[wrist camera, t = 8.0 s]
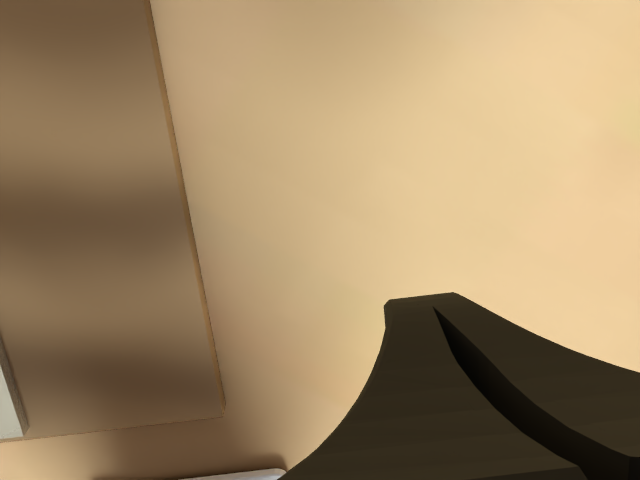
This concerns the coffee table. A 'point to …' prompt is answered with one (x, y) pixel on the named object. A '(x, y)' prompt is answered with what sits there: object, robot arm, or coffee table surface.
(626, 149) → the coffee table surface
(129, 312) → the board
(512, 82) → the coffee table surface
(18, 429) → the hinge leaves
